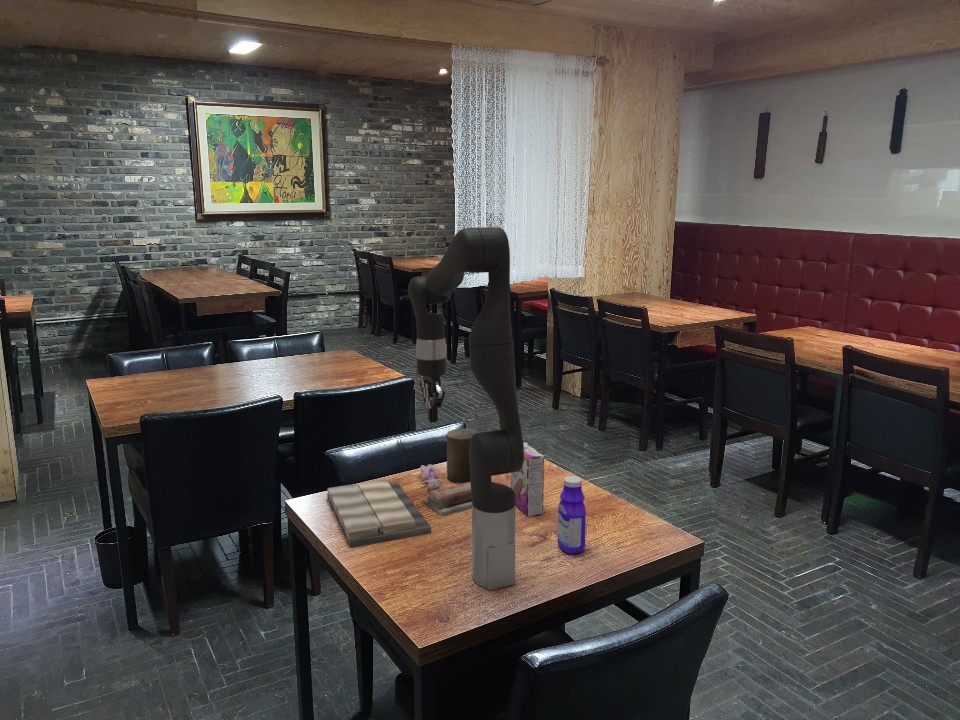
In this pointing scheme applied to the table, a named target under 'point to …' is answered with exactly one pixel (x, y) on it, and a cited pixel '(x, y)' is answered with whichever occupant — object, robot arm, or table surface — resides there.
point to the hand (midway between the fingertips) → (432, 421)
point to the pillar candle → (459, 455)
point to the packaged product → (450, 499)
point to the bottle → (572, 516)
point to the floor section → (369, 516)
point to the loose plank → (387, 506)
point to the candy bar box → (529, 482)
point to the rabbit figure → (430, 477)
